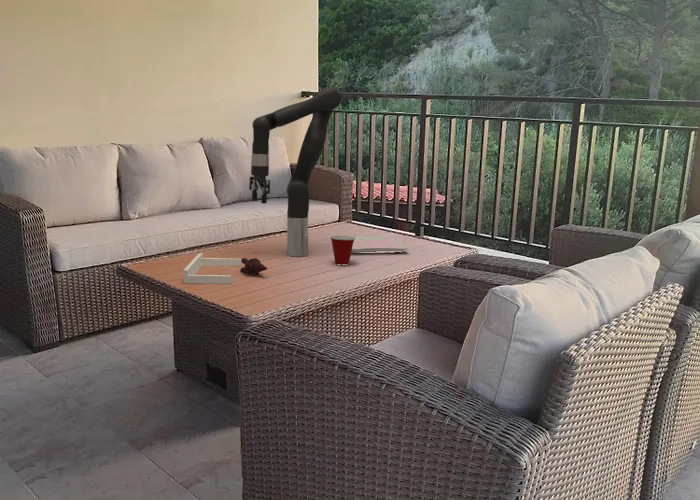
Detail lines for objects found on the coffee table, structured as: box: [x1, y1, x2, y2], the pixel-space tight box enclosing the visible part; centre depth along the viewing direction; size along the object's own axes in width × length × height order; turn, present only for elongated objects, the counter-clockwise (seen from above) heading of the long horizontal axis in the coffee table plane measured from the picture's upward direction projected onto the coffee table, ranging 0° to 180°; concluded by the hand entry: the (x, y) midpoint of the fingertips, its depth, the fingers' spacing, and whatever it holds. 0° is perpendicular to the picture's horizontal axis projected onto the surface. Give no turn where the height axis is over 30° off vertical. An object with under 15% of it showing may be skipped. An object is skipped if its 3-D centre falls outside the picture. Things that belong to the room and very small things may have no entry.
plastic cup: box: [329, 234, 356, 266], centre depth 269 cm, size 11×11×12 cm
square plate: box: [351, 235, 409, 253], centre depth 300 cm, size 27×27×4 cm
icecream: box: [240, 257, 268, 276], centre depth 249 cm, size 7×7×15 cm
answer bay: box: [183, 252, 243, 285], centre depth 249 cm, size 18×27×5 cm, turn 1°
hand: (259, 202), depth 275 cm, fingers open, 8 cm apart
